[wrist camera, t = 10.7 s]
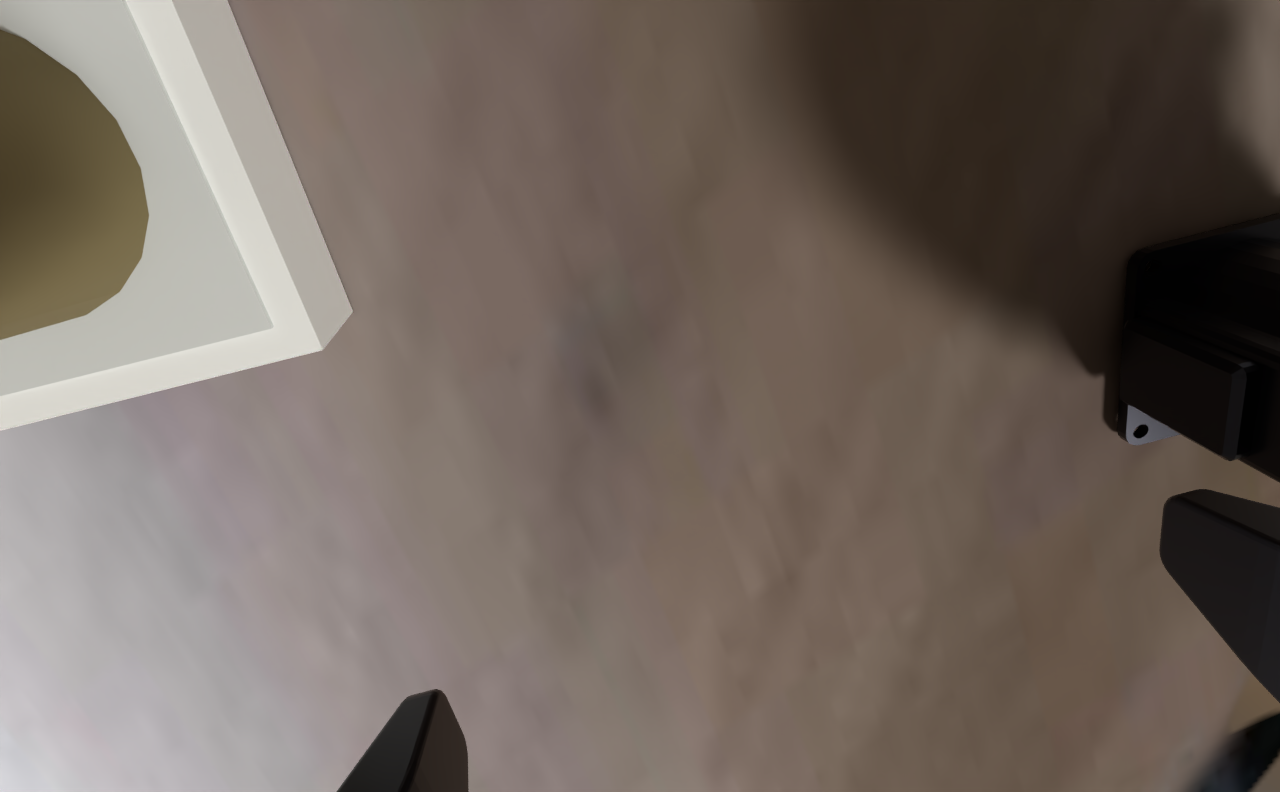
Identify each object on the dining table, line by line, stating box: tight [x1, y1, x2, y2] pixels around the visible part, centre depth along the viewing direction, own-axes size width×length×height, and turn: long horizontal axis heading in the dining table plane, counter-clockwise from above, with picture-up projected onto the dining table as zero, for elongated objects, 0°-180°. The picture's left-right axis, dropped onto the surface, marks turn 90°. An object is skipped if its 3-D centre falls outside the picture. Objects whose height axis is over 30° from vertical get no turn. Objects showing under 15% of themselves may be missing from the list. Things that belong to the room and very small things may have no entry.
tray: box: [0, 0, 353, 431], centre depth 16 cm, size 10×10×3 cm
